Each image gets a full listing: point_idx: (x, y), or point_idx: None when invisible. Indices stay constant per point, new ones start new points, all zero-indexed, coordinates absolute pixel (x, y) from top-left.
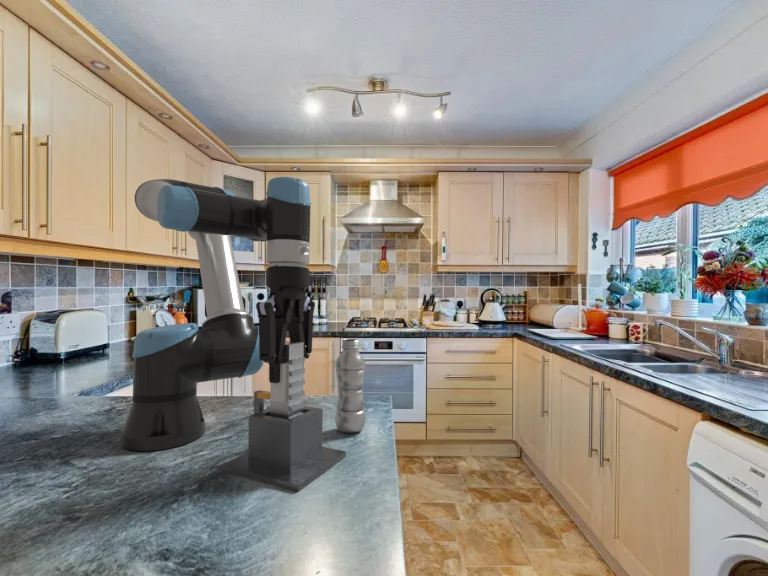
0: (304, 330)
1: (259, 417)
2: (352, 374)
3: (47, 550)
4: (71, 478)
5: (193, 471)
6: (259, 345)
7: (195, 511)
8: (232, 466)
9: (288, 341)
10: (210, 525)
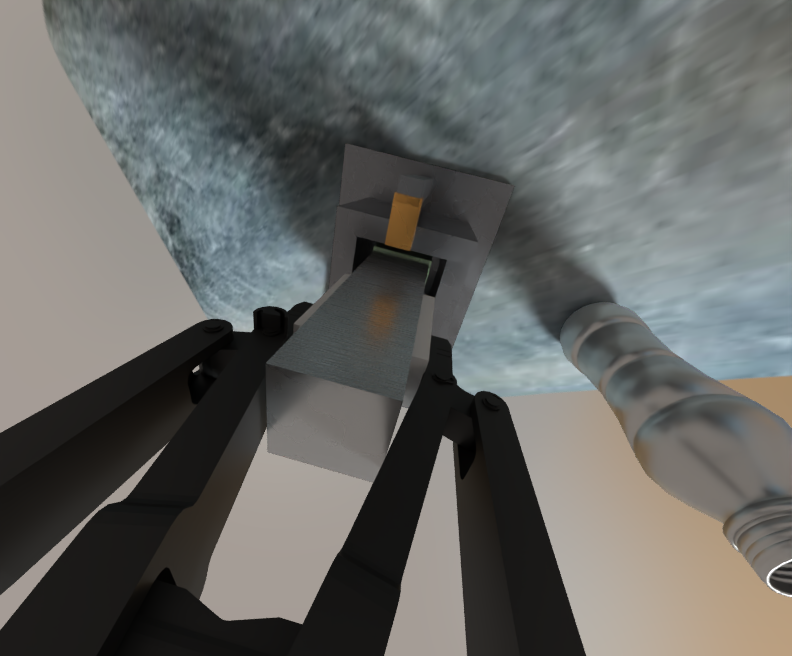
0: (473, 541)
1: (336, 241)
2: (627, 438)
3: (84, 48)
4: None
5: (330, 74)
6: (142, 355)
7: (238, 197)
8: (346, 173)
9: (389, 417)
10: (228, 240)
